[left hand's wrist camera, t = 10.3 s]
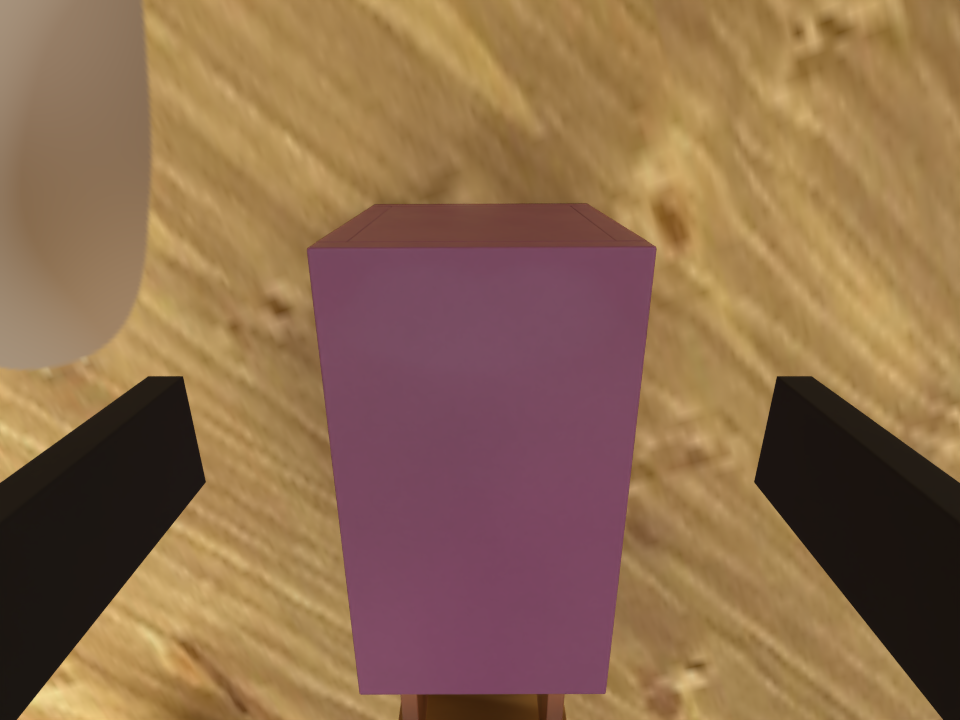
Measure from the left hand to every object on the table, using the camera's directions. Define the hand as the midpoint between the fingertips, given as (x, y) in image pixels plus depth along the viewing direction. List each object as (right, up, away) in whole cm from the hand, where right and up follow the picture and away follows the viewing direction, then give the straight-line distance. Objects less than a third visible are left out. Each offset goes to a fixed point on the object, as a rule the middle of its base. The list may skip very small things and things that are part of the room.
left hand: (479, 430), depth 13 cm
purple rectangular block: (0, 0, +19) cm, 19 cm away
